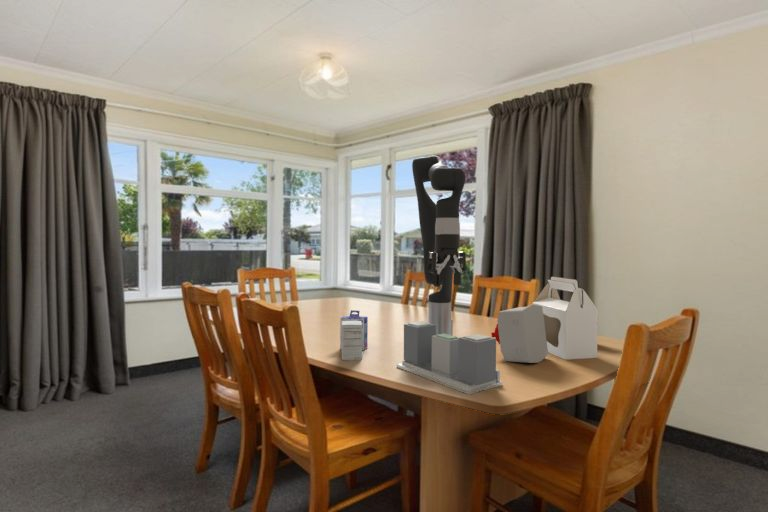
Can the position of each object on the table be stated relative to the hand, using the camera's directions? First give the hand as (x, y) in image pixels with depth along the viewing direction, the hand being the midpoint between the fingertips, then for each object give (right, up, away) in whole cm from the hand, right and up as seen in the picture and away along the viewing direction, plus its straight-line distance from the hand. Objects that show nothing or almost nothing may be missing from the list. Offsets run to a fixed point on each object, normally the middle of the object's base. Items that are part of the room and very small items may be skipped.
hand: (446, 285), depth 136 cm
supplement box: (-31, -27, +22) cm, 47 cm away
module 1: (-8, -26, +11) cm, 29 cm away
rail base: (0, -28, +1) cm, 28 cm away
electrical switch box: (+28, -28, +22) cm, 45 cm away
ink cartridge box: (-31, -27, +35) cm, 54 cm away
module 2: (+7, -26, -9) cm, 29 cm away
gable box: (+49, -27, +32) cm, 64 cm away
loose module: (0, -26, +1) cm, 26 cm away
